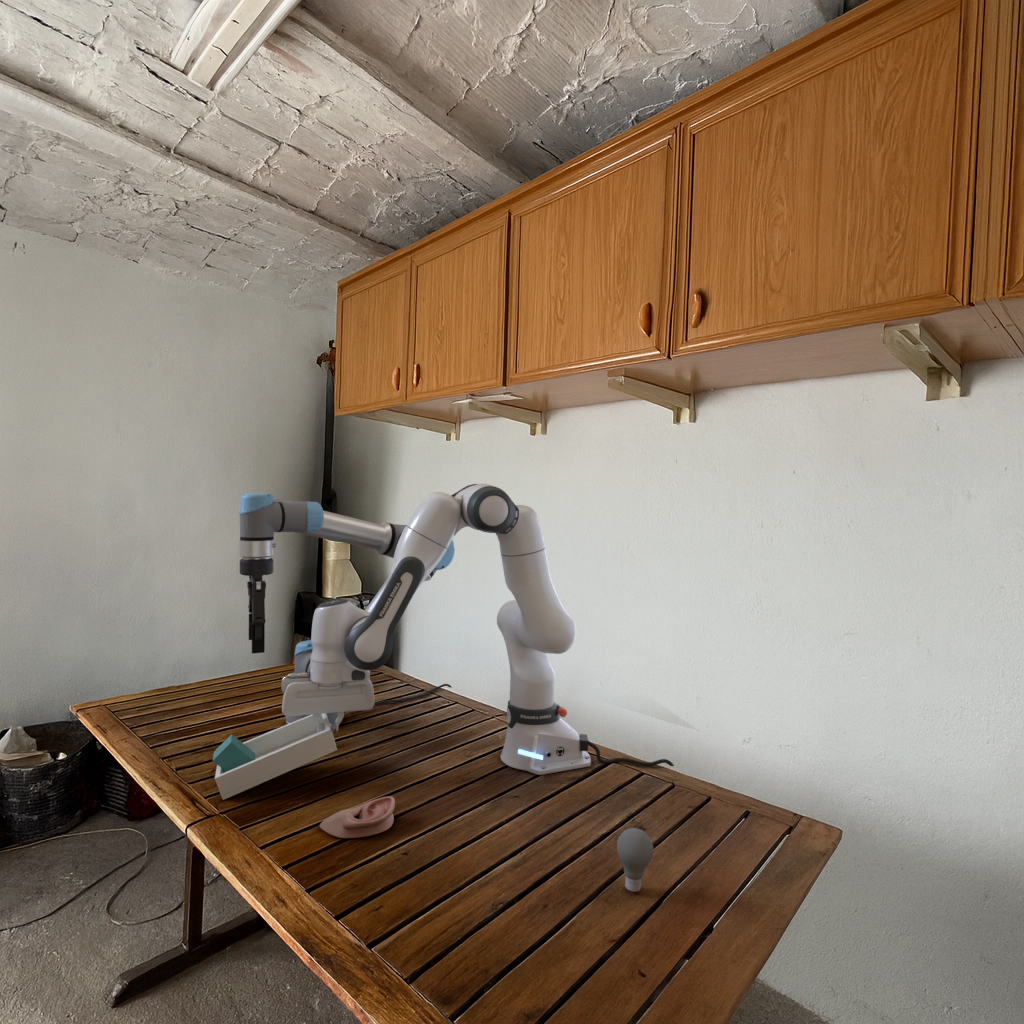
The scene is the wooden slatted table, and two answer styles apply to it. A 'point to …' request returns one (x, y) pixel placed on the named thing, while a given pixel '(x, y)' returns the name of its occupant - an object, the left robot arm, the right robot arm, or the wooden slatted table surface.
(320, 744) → the tray
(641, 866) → the light bulb
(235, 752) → the block
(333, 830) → the anatomical model
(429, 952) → the wooden slatted table surface
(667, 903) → the wooden slatted table surface
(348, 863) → the wooden slatted table surface
